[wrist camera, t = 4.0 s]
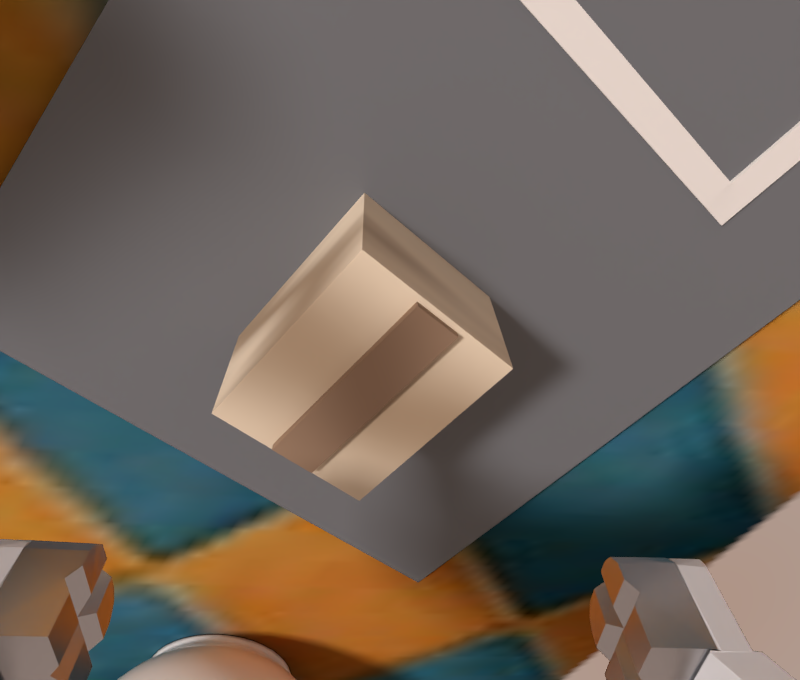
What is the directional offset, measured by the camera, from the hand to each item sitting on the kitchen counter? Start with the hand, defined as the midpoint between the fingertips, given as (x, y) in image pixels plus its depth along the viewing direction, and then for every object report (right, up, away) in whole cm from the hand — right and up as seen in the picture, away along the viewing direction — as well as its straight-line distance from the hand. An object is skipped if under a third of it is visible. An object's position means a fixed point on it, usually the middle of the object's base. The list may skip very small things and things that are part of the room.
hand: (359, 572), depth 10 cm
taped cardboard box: (0, +5, +7) cm, 9 cm away
